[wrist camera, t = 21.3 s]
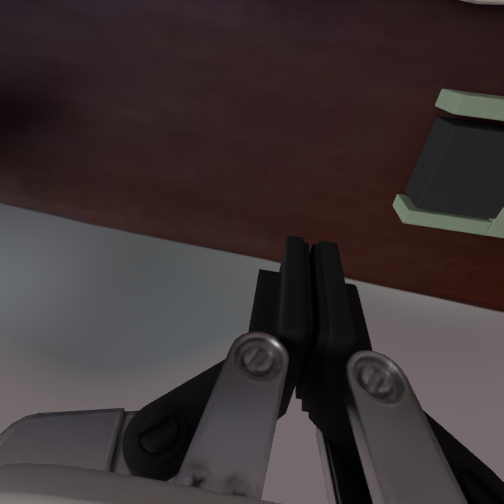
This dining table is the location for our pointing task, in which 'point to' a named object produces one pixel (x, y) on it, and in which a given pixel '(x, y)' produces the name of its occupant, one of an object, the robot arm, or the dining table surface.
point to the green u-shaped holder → (410, 214)
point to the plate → (486, 1)
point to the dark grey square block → (460, 169)
